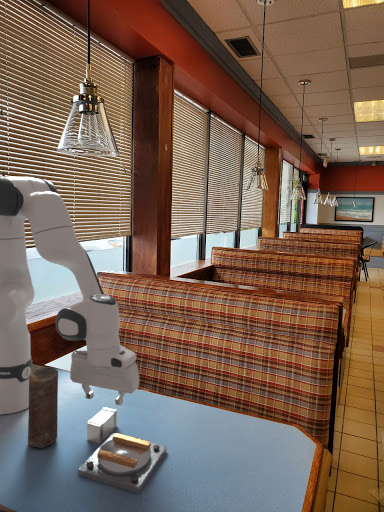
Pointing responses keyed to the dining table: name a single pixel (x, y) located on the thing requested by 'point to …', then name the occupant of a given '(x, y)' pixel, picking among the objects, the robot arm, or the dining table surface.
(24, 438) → the dining table surface
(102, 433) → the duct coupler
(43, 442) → the candle
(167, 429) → the dining table surface
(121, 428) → the dining table surface
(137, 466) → the turntable fixture plate
